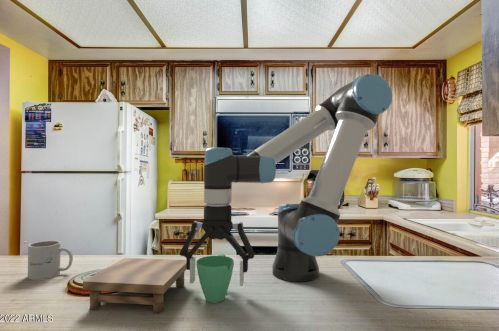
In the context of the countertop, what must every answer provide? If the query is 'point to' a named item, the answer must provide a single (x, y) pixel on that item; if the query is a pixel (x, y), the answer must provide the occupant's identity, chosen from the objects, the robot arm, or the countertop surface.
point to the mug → (46, 259)
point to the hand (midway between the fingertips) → (216, 282)
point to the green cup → (215, 276)
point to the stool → (136, 281)
